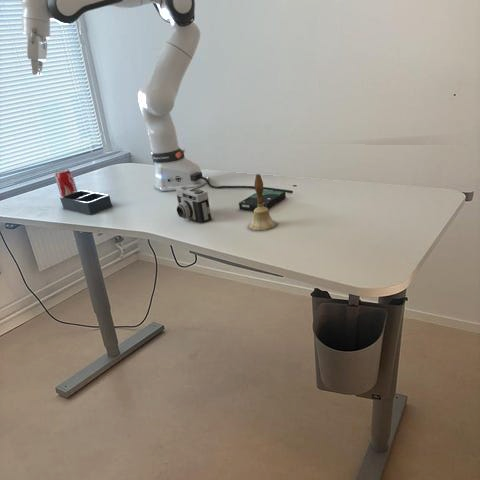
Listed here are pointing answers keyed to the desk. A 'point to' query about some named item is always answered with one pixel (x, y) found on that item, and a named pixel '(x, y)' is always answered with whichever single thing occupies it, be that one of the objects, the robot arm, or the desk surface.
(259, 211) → the hand bell
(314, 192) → the desk surface
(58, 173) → the soda can
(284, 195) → the disk drive
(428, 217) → the desk surface
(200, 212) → the camera
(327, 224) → the desk surface
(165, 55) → the robot arm
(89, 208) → the open box
